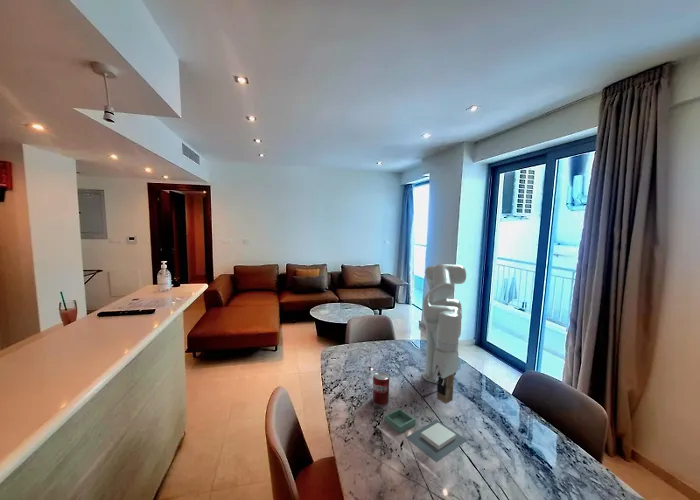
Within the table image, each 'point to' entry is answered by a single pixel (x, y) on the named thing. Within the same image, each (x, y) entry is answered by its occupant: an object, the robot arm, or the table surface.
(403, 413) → the holder
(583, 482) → the table surface
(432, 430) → the tile
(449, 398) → the brown wooden block
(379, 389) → the soda can
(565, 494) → the table surface
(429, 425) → the mat
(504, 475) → the table surface
